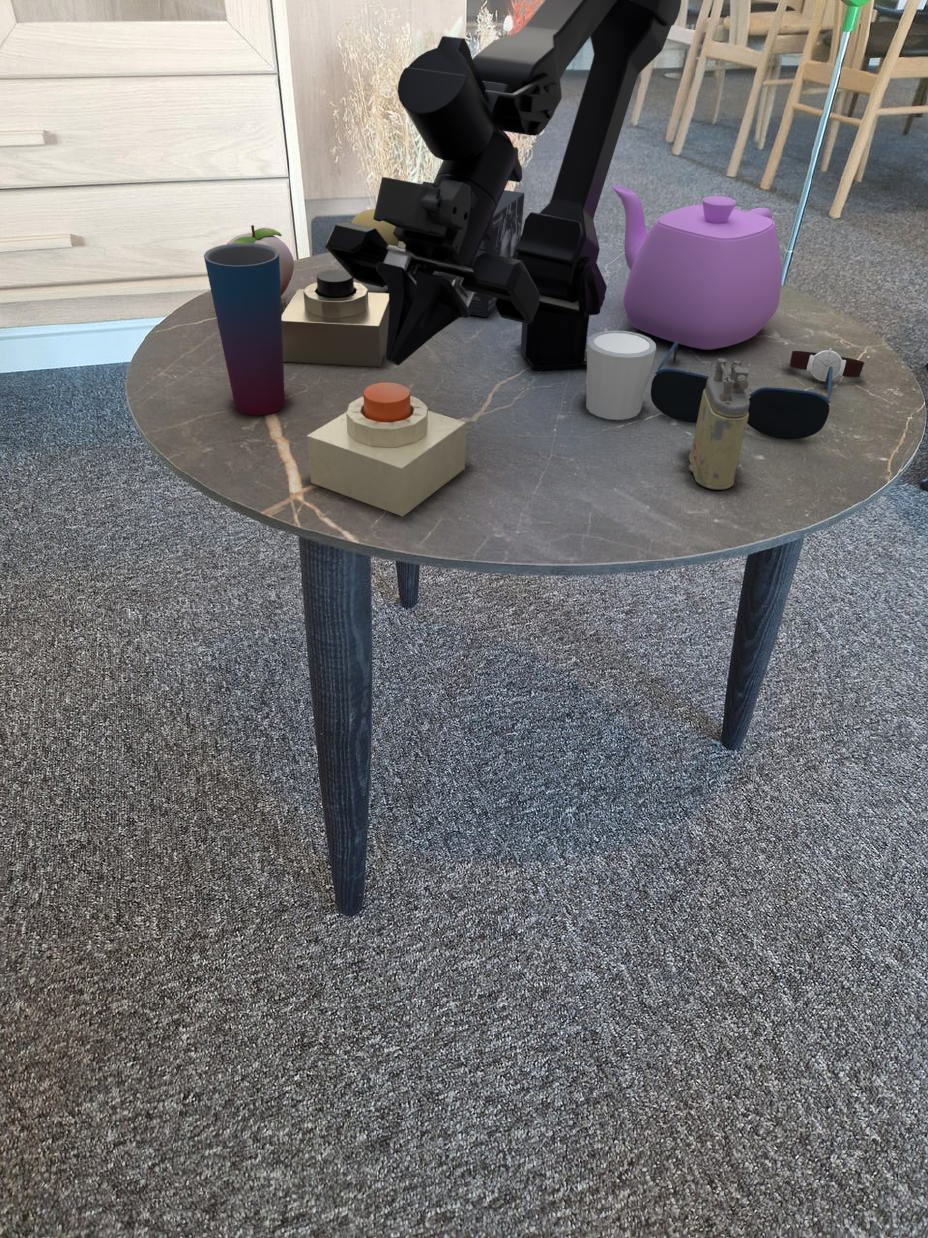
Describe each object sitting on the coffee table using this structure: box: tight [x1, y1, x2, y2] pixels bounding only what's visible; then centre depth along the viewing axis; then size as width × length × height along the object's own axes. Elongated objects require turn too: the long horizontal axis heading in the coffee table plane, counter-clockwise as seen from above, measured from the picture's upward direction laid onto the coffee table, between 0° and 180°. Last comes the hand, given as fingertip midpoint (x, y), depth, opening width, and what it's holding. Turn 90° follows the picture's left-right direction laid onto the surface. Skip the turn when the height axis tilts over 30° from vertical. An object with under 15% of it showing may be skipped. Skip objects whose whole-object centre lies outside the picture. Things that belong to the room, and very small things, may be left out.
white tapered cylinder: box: [585, 330, 657, 421], centre depth 94 cm, size 7×7×7 cm
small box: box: [468, 189, 525, 318], centre depth 117 cm, size 13×7×12 cm, turn 160°
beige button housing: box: [306, 395, 467, 518], centre depth 82 cm, size 10×10×6 cm
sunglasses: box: [650, 342, 833, 440], centre depth 98 cm, size 17×15×5 cm
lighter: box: [688, 358, 750, 490], centre depth 83 cm, size 7×4×10 cm, turn 177°
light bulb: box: [350, 208, 400, 293], centre depth 119 cm, size 6×6×10 cm
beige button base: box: [281, 281, 389, 368], centre depth 105 cm, size 11×10×6 cm
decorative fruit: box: [226, 224, 295, 296], centre depth 113 cm, size 9×8×10 cm
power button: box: [362, 382, 411, 422], centre depth 80 cm, size 4×4×2 cm
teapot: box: [611, 184, 783, 351], centre depth 112 cm, size 23×21×15 cm
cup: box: [203, 243, 286, 416], centre depth 90 cm, size 7×7×15 cm
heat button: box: [316, 269, 355, 298], centre depth 103 cm, size 4×4×2 cm
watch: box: [789, 347, 865, 382], centre depth 103 cm, size 8×5×4 cm, turn 70°
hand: (391, 362), depth 78 cm, fingers closed
